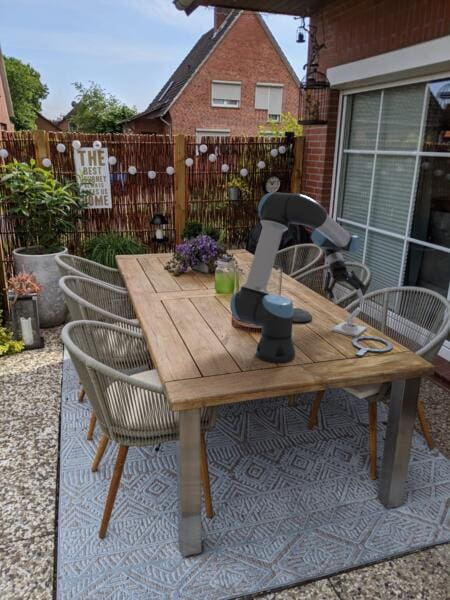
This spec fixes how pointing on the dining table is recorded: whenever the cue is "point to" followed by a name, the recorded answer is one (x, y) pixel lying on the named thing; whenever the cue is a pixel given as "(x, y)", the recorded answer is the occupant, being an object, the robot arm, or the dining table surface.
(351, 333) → the tile
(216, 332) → the dining table surface
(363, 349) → the eye ring
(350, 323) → the hook
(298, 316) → the flying saucer
